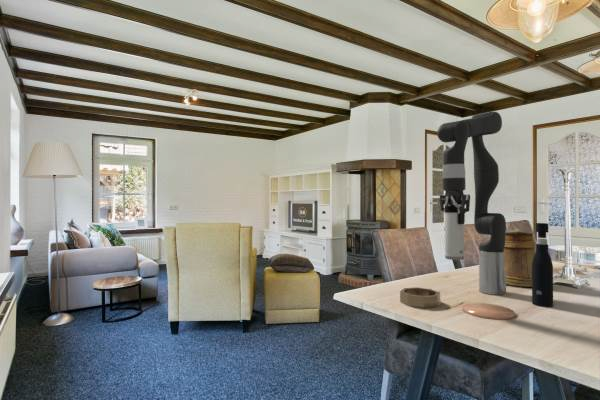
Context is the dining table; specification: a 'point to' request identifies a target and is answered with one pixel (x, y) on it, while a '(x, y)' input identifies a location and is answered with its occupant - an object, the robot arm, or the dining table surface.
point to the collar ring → (420, 297)
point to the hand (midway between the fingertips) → (454, 223)
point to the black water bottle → (542, 270)
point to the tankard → (519, 257)
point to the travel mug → (453, 234)
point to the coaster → (488, 311)
